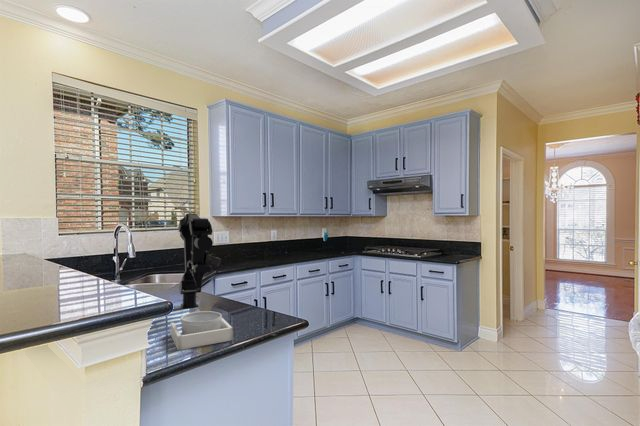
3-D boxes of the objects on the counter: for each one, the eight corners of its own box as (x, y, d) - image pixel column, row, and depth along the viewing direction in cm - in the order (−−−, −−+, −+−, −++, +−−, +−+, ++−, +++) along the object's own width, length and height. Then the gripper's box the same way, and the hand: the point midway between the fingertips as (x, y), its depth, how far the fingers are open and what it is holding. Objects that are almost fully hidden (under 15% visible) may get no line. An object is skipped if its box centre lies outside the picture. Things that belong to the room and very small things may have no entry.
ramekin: (215, 327, 122) (215, 308, 122) (226, 339, 111) (226, 318, 111) (176, 334, 115) (177, 314, 115) (184, 346, 104) (185, 324, 104)
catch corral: (170, 334, 114) (170, 322, 114) (220, 326, 123) (220, 315, 123) (177, 350, 101) (178, 337, 101) (232, 340, 110) (233, 328, 110)
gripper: (225, 250, 132) (224, 289, 131) (213, 246, 148) (213, 281, 147) (196, 251, 126) (195, 292, 125) (187, 247, 142) (186, 283, 141)
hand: (198, 287), depth 135 cm, fingers closed
